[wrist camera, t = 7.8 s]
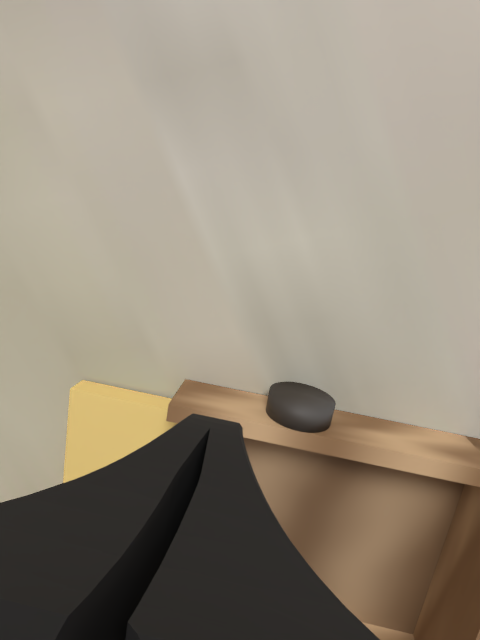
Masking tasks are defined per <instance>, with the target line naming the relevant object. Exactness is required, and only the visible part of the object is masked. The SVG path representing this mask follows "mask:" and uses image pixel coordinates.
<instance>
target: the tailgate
mask: <svg viewBox="0 0 480 640" xmlns="http://www.w3.org/2000/svg"><path fill="white" fill-rule="evenodd" d="M171 400H172V399H171V398H166V397H161V396H156V395H152V394H147V393H142V392H137V391H133V390H128V389H123V388H118V387H113V386H109V385H104V384H99V383H94V382H89V381H85V380H82V381H80V382H79V383H78V384H76V385H75V386H73V387H72V388H71V389H70V397H69V410H68V424H67V438H66V451H65V465H64V478H63V483H65V482H68V481H71V480H74V479H77V478H79V477H82V476H84V475H86V474H89V473H91V472H93V471H96V470H98V469H100V468H103V467H105V466H107V465H109V464H111V463H113V462H115V461H117V460H119V459H121V458H123V457H125V456H127V455H128V454H130V453H132V452H134V451H135V450H137V449H139V448H141V447H143V446H144V445H146V444H148V443H149V442H151V441H152V440H154V439H155V438H157V437H158V436H160V435H162V434H163V433H165V432H166V431H167V430H169V429H170V428H172V427H173V426H175V425H176V424H178V423H173V422H169V421H166V419H167V412H168V404H169V403H170V401H171Z"/></svg>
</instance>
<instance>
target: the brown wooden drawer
mask: <svg viewBox="0 0 480 640" xmlns="http://www.w3.org/2000/svg"><path fill="white" fill-rule="evenodd" d="M334 409H335V401H334V399H333V398H332V397H331V396H330V395H329V394H327V393H326V392H324V391H322V390H320V389H318V388H315V387H312V386H309V385H306V384H301V383H295V382H279V383H275V384H273V385H272V386H271V387H270V390H269V395H268V396H265V395H260V394H255V393H250V392H245V391H240V390H235V389H231V388H226V387H221V386H216V385H211V384H206V383H201V382H196V381H191V380H186V379H185V381H184V382H183V384H182V385H181V387H180V388H179V390H178V391H177V392H176V394H175V395H174V397H173V398H172V400H171V401H170V403H169V404H168V412H167V419H166V421H169V422H173V423H179V422H180V421H182V420H183V419H185V418H186V417H188V416H189V415H191V414H193V413H194V414H199V415H204V416H209V417H213V418H218V419H223V420H228V421H232V422H237V423H240V425H241V426H242V428H243V438H244V443H245V447H246V451H247V454H248V457H249V460H250V463H251V466H252V468H253V471H254V474H255V476H256V479H257V481H258V483H259V486H260V488H261V490H262V492H263V494H264V496H265V498H266V500H267V502H268V504H269V506H270V508H271V510H272V512H273V513H274V515H275V517H276V518H277V520H278V522H279V524H280V525H281V527H282V528H283V530H284V532H285V533H286V535H287V536H288V538H289V539H290V541H291V542H292V543H293V545H294V546H295V547H296V549H297V550H298V551H299V553H300V554H301V555H302V557H303V558H304V559H305V561H306V562H307V563H308V564H309V566H310V567H311V568H312V570H313V571H314V572H315V573H316V574H317V576H318V577H319V578H320V579H321V580H322V581H323V582H324V583H325V585H326V586H327V587H328V588H329V589H330V590H331V591H332V592H333V593H334V595H335V596H336V597H337V598H338V599H339V600H340V601H341V602H342V603H343V604H344V605H345V606H346V608H347V609H348V610H349V611H351V612H352V613H353V614H354V615H355V616H356V617H357V618H358V619H359V620H360V621H361V622H362V623H363V624H364V625H365V626H366V627H367V628H368V629H369V630H370V631H371V632H373V633H374V634H375V635H376V636H377V637H378V638H379V639H380V640H480V439H477V438H472V437H467V436H462V435H457V434H452V433H447V432H443V431H438V430H433V429H428V428H423V427H418V426H413V425H408V424H403V423H398V422H393V421H388V420H383V419H378V418H374V417H369V416H364V415H359V414H354V413H349V412H344V411H339V410H334Z"/></svg>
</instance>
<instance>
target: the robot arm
mask: <svg viewBox="0 0 480 640" xmlns="http://www.w3.org/2000/svg"><path fill="white" fill-rule="evenodd" d="M0 640H380V639H379V638H378V637H377V636H376V635H375V634H374V633H373V632H371V631H370V630H369V629H368V628H367V627H366V626H365V625H364V624H363V623H362V622H361V621H360V620H359V619H358V618H357V617H356V616H355V615H354V614H353V613H352V612H351V611H349V610H348V609H347V608H346V606H345V605H344V604H343V603H342V602H341V601H340V600H339V599H338V598H337V597H336V596H335V595H334V593H333V592H332V591H331V590H330V589H329V588H328V587H327V586H326V585H325V583H324V582H323V581H322V580H321V579H320V578H319V577H318V576H317V574H316V573H315V572H314V571H313V570H312V568H311V567H310V566H309V564H308V563H307V562H306V561H305V559H304V558H303V557H302V555H301V554H300V553H299V551H298V550H297V549H296V547H295V546H294V545H293V543H292V542H291V541H290V539H289V538H288V536H287V535H286V533H285V532H284V530H283V528H282V527H281V525H280V524H279V522H278V520H277V518H276V517H275V515H274V513H273V512H272V510H271V508H270V506H269V504H268V502H267V500H266V498H265V496H264V494H263V492H262V490H261V488H260V486H259V483H258V481H257V479H256V476H255V474H254V471H253V468H252V466H251V463H250V460H249V457H248V454H247V451H246V447H245V443H244V438H243V428H242V426H241V425H240V423H237V422H232V421H228V420H223V419H218V418H213V417H209V416H204V415H199V414H194V413H193V414H191V415H189V416H188V417H186V418H185V419H183V420H182V421H180V422H179V423H178V424H176V425H175V426H173V427H172V428H170V429H169V430H167V431H166V432H165V433H163V434H162V435H160V436H158V437H157V438H155V439H154V440H152V441H151V442H149V443H148V444H146V445H144V446H143V447H141V448H139V449H137V450H135V451H134V452H132V453H130V454H128V455H127V456H125V457H123V458H121V459H119V460H117V461H115V462H113V463H111V464H109V465H107V466H105V467H103V468H100V469H98V470H96V471H93V472H91V473H89V474H86V475H84V476H82V477H79V478H77V479H74V480H71V481H68V482H65V483H62V484H60V485H57V486H54V487H51V488H48V489H45V490H42V491H39V492H36V493H33V494H30V495H27V496H23V497H20V498H16V499H13V500H9V501H5V502H2V503H0Z"/></svg>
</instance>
